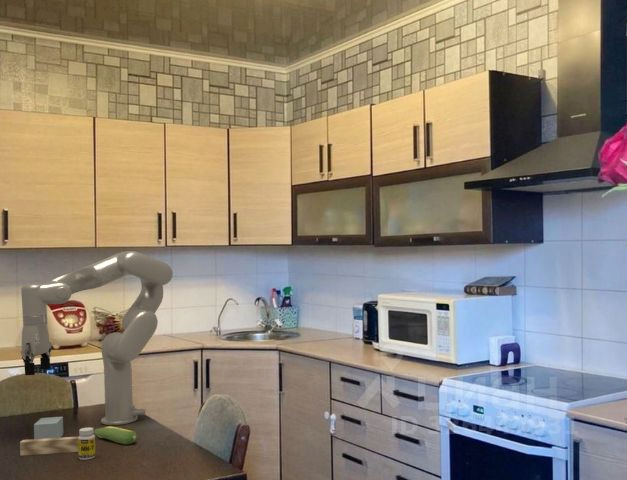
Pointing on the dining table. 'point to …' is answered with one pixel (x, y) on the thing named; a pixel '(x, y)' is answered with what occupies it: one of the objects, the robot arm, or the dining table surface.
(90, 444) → the supplement bottle
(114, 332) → the robot arm
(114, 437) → the edible corn
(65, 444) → the board
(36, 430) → the block
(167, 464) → the dining table surface
